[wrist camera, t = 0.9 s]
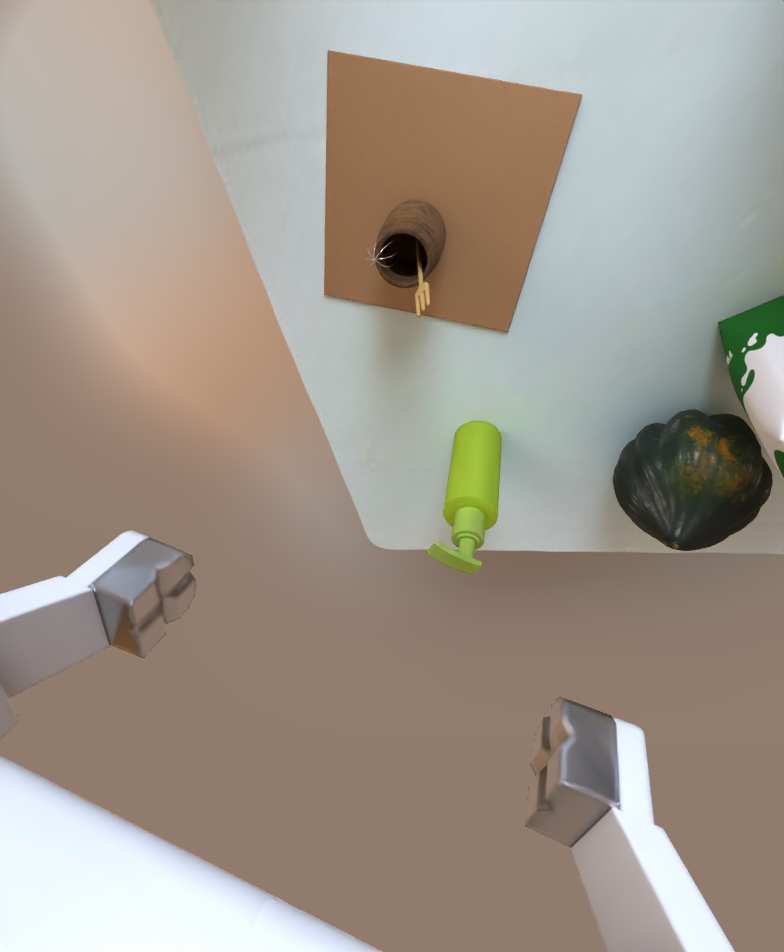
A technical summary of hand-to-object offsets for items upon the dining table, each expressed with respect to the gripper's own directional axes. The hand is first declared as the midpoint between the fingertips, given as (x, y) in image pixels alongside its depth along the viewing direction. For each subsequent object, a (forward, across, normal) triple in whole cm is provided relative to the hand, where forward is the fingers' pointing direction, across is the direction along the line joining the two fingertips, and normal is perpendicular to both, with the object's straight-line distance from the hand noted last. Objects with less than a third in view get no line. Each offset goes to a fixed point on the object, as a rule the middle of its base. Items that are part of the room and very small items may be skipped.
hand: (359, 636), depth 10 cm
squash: (+52, -22, +16) cm, 59 cm away
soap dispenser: (+49, +1, +22) cm, 54 cm away
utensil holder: (+43, +12, -1) cm, 45 cm away
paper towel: (+43, +11, -3) cm, 45 cm away
